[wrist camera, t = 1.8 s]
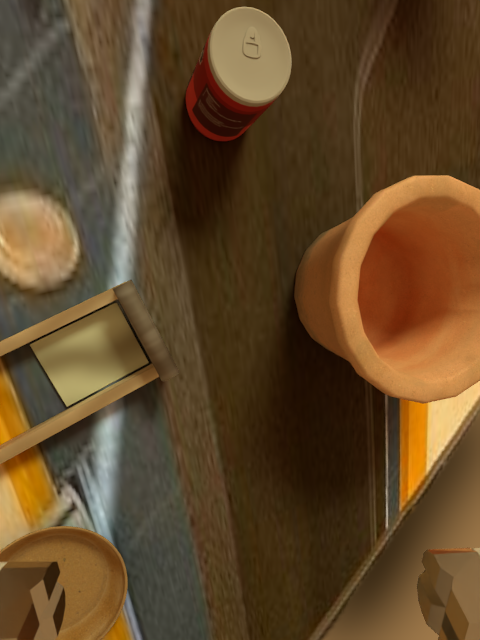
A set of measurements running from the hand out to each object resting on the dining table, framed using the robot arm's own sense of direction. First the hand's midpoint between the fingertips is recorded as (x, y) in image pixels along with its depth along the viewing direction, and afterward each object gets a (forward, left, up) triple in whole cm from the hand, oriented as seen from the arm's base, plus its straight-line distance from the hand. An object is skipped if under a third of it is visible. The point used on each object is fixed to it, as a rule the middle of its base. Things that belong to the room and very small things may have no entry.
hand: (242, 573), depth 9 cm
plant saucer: (+19, -18, -39) cm, 47 cm away
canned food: (-19, +21, -38) cm, 48 cm away
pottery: (+7, +28, -38) cm, 48 cm away
